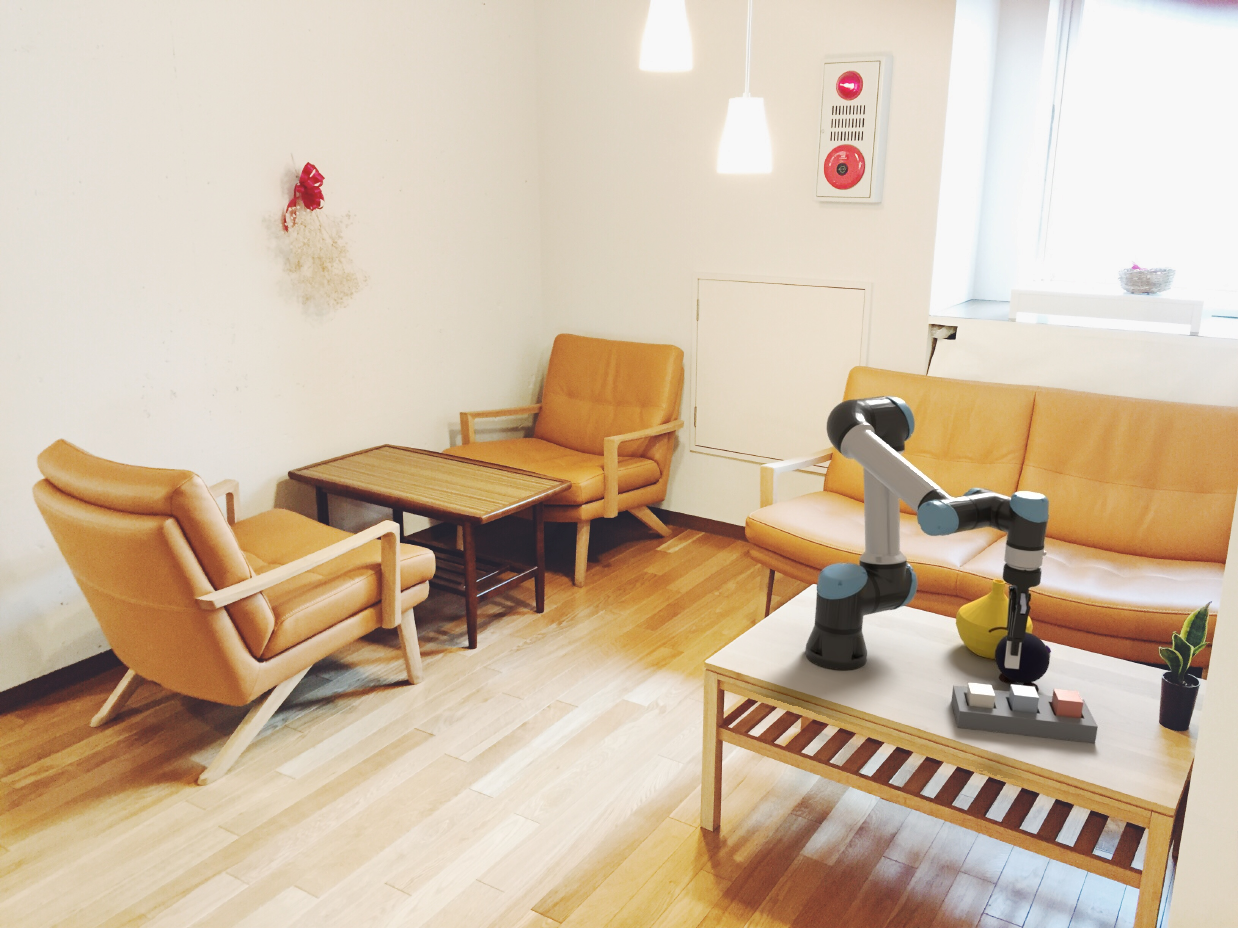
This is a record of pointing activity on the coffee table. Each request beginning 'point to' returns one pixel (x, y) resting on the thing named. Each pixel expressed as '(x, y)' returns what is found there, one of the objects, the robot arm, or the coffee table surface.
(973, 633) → the vase
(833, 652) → the robot arm
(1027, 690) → the key slate
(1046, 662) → the toy
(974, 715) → the console
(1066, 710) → the key brick
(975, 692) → the key ivory
